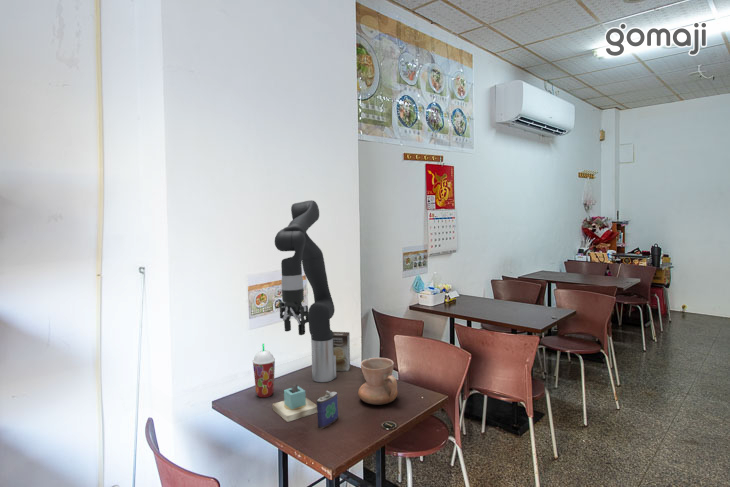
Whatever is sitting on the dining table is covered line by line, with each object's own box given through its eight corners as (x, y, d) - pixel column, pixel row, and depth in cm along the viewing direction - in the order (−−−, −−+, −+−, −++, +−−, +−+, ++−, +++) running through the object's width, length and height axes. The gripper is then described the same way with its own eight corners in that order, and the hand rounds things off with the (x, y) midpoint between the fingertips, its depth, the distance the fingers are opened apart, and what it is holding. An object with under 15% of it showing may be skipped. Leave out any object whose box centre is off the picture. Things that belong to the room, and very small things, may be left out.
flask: (334, 416, 144) (333, 385, 144) (340, 418, 143) (340, 387, 142) (315, 427, 137) (314, 395, 136) (322, 429, 135) (321, 397, 135)
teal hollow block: (298, 399, 153) (298, 386, 153) (305, 404, 148) (305, 391, 148) (284, 403, 150) (283, 390, 149) (291, 409, 145) (290, 395, 145)
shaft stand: (302, 400, 158) (302, 376, 157) (318, 411, 148) (318, 386, 147) (272, 409, 151) (271, 384, 150) (287, 422, 141) (286, 395, 140)
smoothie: (278, 390, 167) (277, 340, 166) (272, 399, 159) (270, 347, 158) (258, 390, 168) (256, 340, 167) (250, 398, 160) (248, 347, 159)
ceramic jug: (348, 398, 158) (347, 361, 158) (378, 388, 167) (377, 352, 166) (379, 415, 144) (378, 374, 143) (410, 403, 153) (409, 364, 152)
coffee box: (327, 371, 187) (326, 335, 186) (331, 365, 194) (329, 331, 193) (348, 371, 186) (347, 335, 185) (350, 366, 193) (349, 331, 192)
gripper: (313, 287, 147) (315, 333, 148) (289, 284, 157) (291, 327, 158) (295, 290, 142) (297, 338, 142) (272, 287, 152) (274, 331, 153)
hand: (294, 332), depth 150 cm, fingers open, 8 cm apart
